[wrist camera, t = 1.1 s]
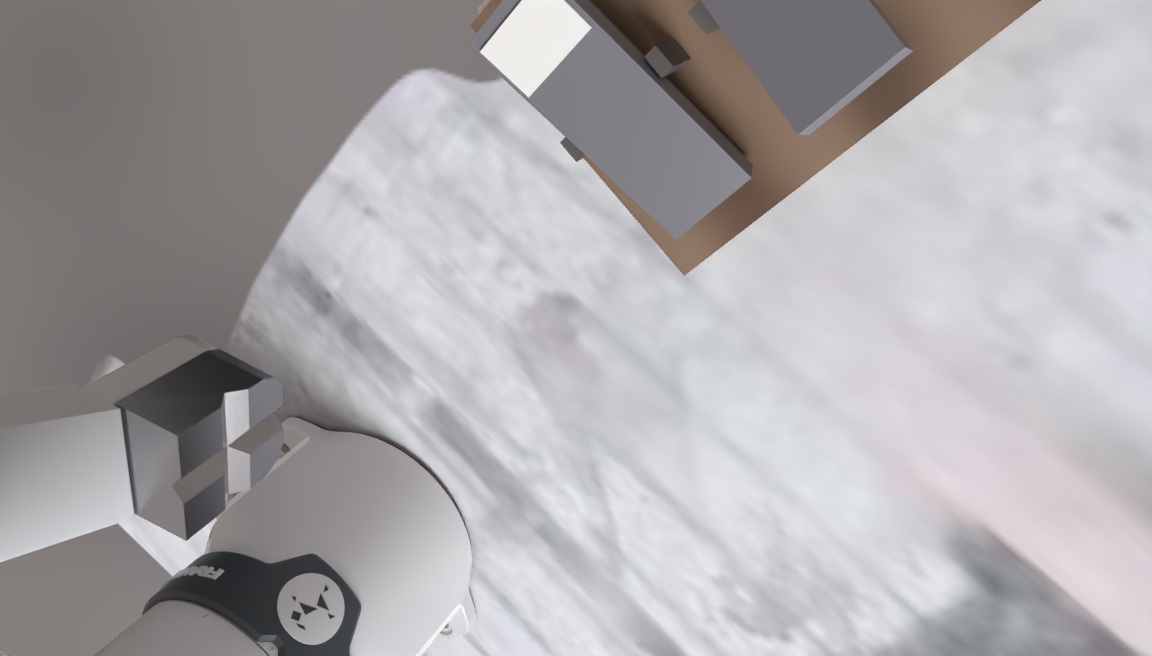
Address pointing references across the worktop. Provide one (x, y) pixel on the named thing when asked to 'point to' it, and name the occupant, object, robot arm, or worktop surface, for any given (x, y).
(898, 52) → the rocker middle
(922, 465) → the worktop surface
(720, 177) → the rocker
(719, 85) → the switch unit
